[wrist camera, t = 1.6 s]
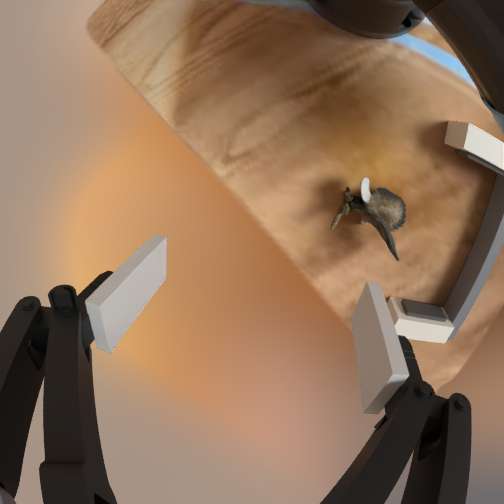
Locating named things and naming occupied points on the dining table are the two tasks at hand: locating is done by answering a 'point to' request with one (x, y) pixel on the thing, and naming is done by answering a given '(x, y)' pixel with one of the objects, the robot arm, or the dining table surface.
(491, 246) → the rail
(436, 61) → the dining table surface
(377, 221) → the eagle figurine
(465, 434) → the robot arm
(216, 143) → the dining table surface
